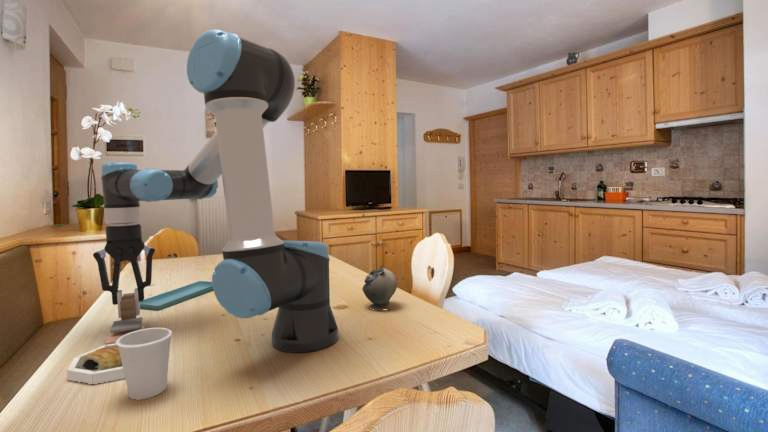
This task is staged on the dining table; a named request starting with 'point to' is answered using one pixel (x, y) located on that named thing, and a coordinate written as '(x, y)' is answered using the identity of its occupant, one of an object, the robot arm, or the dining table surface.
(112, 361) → the pastry
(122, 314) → the tall brown block
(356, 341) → the dining table surface
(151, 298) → the teal serving tray
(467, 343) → the dining table surface
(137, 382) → the dixie cup
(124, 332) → the tile
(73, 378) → the dish rim
